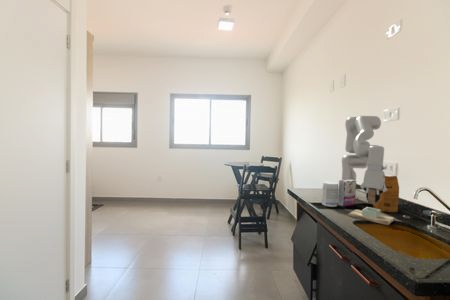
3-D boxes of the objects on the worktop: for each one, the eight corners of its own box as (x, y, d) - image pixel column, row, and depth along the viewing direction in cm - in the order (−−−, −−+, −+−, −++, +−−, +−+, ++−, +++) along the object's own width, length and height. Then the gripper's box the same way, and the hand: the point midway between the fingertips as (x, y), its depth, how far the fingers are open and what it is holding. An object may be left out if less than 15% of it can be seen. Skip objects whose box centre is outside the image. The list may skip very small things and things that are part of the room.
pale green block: (366, 212, 160) (367, 206, 160) (380, 215, 156) (380, 209, 155) (361, 215, 154) (362, 209, 154) (375, 218, 149) (376, 212, 149)
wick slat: (370, 201, 157) (371, 187, 157) (376, 203, 155) (378, 188, 154) (367, 203, 154) (368, 188, 153) (374, 204, 151) (375, 189, 151)
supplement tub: (340, 206, 178) (342, 183, 177) (331, 208, 173) (332, 184, 172) (327, 202, 186) (329, 181, 185) (318, 204, 181) (319, 182, 180)
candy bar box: (348, 203, 187) (350, 179, 185) (355, 205, 182) (357, 180, 181) (337, 204, 181) (338, 180, 180) (343, 206, 177) (345, 181, 176)
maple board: (356, 211, 167) (356, 209, 166) (394, 220, 153) (394, 217, 153) (348, 215, 157) (348, 213, 157) (388, 225, 143) (388, 222, 143)
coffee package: (370, 207, 178) (373, 173, 176) (390, 208, 177) (393, 174, 176) (378, 212, 168) (381, 176, 166) (399, 213, 167) (402, 177, 166)
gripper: (393, 169, 150) (390, 202, 151) (361, 166, 161) (358, 197, 163) (390, 170, 145) (387, 205, 146) (356, 166, 156) (354, 198, 157)
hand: (372, 200), depth 154 cm, fingers closed on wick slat, 3 cm apart
